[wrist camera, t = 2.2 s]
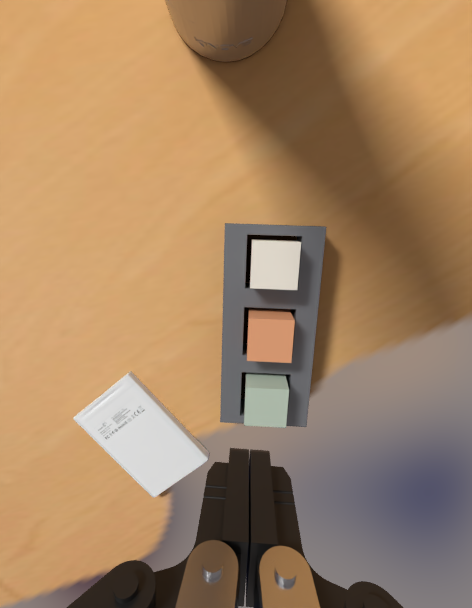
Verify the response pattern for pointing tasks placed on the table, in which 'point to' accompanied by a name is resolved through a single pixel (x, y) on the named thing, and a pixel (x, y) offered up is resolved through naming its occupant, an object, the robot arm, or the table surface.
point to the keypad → (298, 301)
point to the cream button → (274, 264)
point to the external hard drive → (142, 435)
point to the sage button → (266, 400)
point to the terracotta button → (270, 335)
